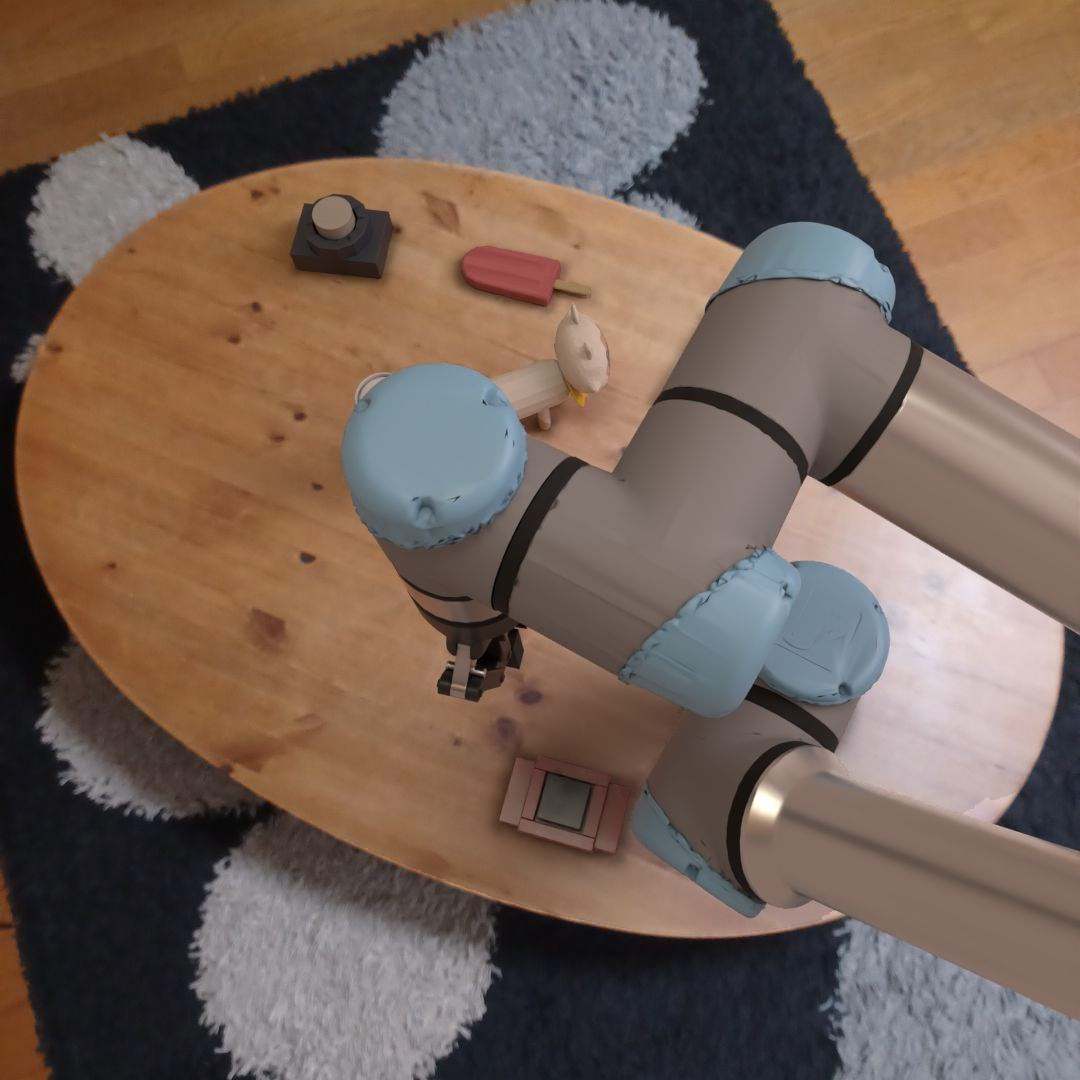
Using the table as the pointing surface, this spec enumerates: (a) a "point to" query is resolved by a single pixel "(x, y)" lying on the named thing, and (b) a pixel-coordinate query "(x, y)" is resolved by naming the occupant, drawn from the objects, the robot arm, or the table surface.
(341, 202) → the plunger
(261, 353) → the table surface
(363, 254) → the button base
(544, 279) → the popsicle
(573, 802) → the black square panel
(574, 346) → the toy
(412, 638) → the table surface
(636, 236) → the table surface
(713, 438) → the robot arm
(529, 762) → the wooden frame
